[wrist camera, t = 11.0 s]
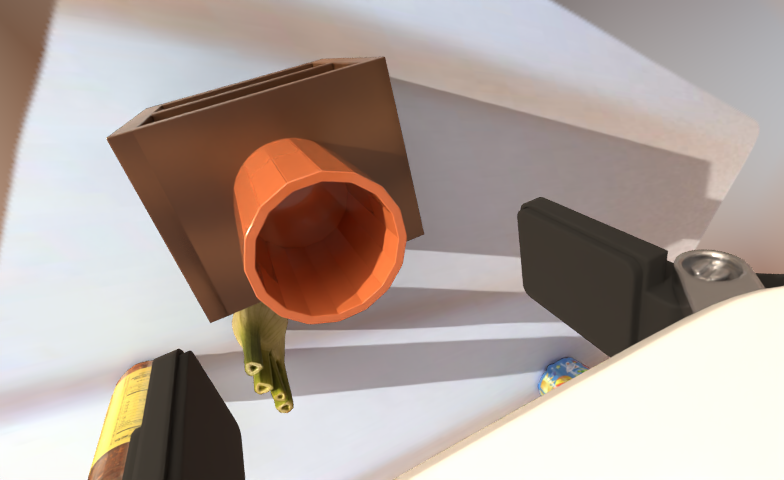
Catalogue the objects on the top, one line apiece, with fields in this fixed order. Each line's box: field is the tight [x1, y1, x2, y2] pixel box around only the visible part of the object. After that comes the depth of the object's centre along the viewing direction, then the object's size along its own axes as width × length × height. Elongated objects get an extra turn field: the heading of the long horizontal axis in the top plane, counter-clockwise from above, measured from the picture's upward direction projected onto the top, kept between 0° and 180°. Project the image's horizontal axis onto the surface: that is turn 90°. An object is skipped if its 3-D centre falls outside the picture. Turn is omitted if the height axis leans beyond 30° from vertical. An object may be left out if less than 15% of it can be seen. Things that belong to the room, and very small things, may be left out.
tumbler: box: [233, 138, 407, 324], centre depth 20 cm, size 6×6×8 cm
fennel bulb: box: [232, 302, 294, 413], centre depth 35 cm, size 6×5×12 cm
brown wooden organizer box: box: [106, 57, 424, 323], centre depth 29 cm, size 11×14×14 cm
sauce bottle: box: [88, 360, 153, 480], centre depth 30 cm, size 7×6×20 cm
